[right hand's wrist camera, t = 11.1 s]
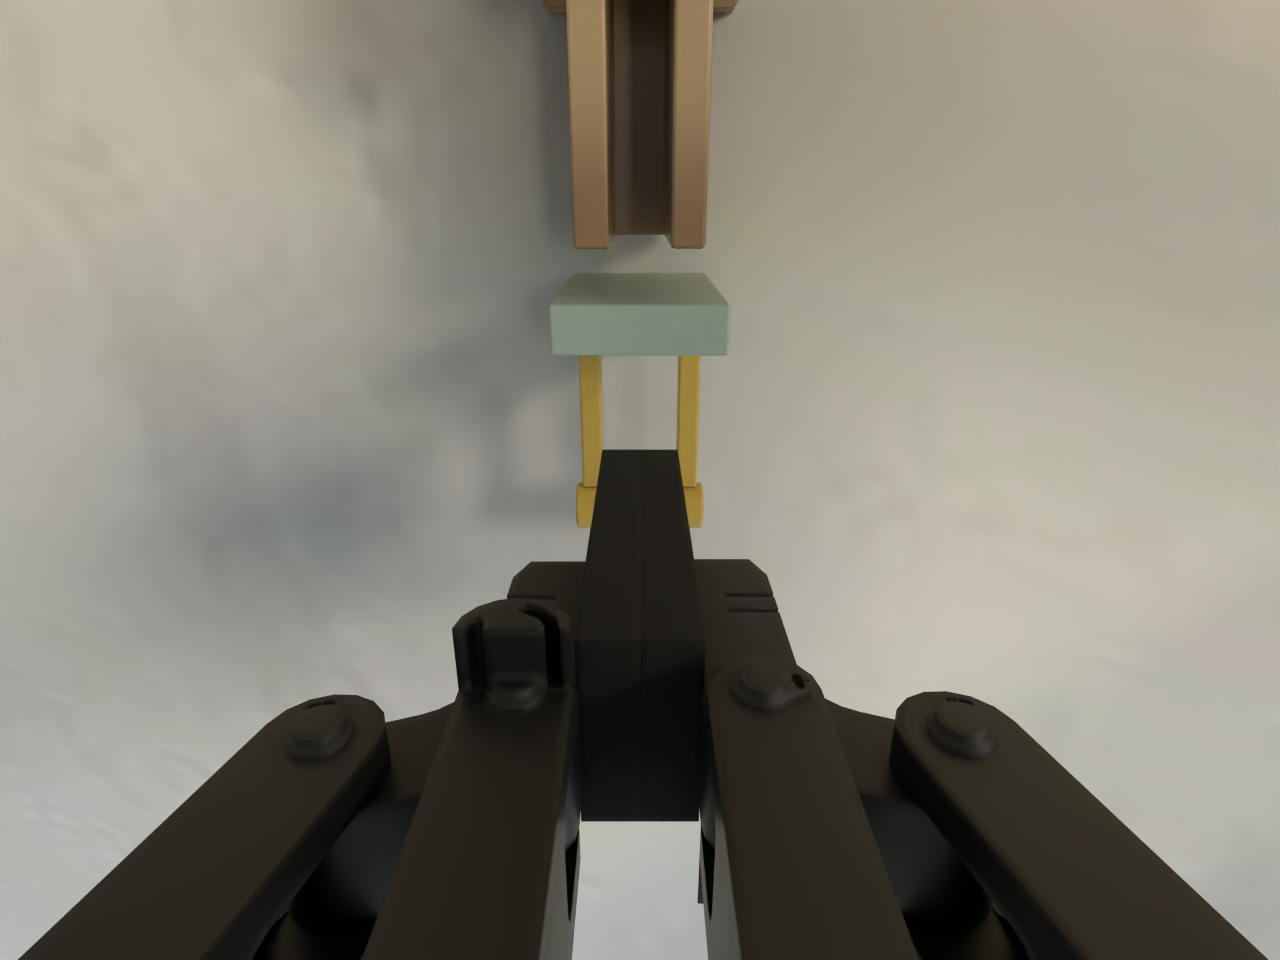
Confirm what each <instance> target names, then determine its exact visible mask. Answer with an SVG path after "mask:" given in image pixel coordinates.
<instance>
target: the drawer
mask: <svg viewBox="0 0 1280 960" xmlns="http://www.w3.org/2000/svg"><path fill="white" fill-rule="evenodd" d="M566 16H567V48H568V79H569V111H570V142H571V173H572V205H573V236H574V247H575V248H577V249H606V248H608V247H609V245H610V244H611V242H612V240H613V238H614V236H615V235H665V236H666V238H667V240H668V242H669V243H670V245H671V247H672V248H675V249H701V248H704V247H705V244H706V215H707V184H708V154H709V123H710V92H711V61H712V30H713V0H566ZM730 315H731V307H730V305H729V303H728V302H727V301H726V300H725V298H724V297H723V296H722V294H721V293H720V292H719V291H718V289H717V288H716V287H715V286H714V284H713V283H712V282H711V281H710V279H709V278H708V277H707V275H706V274H704V273H576V274H574V275H573V276H572V277H571V279H570V280H569V281H568V282H567V284H566V285H565V286H564V287H563V289H562V290H561V291H560V292H559V294H558V295H557V296H556V297H555V299H554V300H553V301H552V302H551V304H550V305H549V328H550V350H551V354H552V355H579V372H580V404H581V437H582V469H583V482H580V483H578V485H577V491H576V520H577V525H578V527H591V523H592V516H593V509H594V502H595V495H596V489H597V482H598V475H599V468H600V461H601V455H602V450H603V418H602V366H601V355H678V389H677V439H676V450H678V455H679V461H680V468H681V475H682V482H683V489H684V495H685V502H686V509H687V516H688V523H689V528H699V527H701V526H702V523H703V488H702V484H701V483H699V482H696V481H697V449H698V418H699V386H700V355H728V353H729V337H730Z"/></svg>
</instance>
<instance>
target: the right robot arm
mask: <svg viewBox="0 0 1280 960" xmlns="http://www.w3.org/2000/svg"><path fill="white" fill-rule="evenodd" d="M452 633H453V642H454V651H455V660H456V669H457V678H458V687H459V691H458V694H457V697H456V699H455V702H453V703H451V704H449V705H447V706H445V707H443V708H441V709H438V710H435V711H432V712H429V713H425V714H422V715H418V716H413V717H409V718H404V719H400V720H395V721H391V722H386V723H385V717H384V712H383V711H382V710H381V709H380V708H379V707H378V705H377V704H376V703H375V702H374V701H371V700H369V699H366V698H363V697H360V696H358V695H330V696H325V697H320V698H316V699H311V700H308V701H306V702H304V703H301V704H299V705H297V706H294V707H292V708H290V709H287V710H286V711H284V712H283V713H281V714H280V715H279V716H277V717H276V718H275V719H273V720H272V721H270V722H269V723H268V724H266V725H265V726H264V727H263V728H262V729H261V730H260V731H259V732H258V733H257V734H256V735H255V736H254V737H253V738H252V739H251V740H249V741H248V742H247V743H246V744H245V745H244V746H243V747H242V748H241V749H240V750H239V751H238V752H237V753H236V754H235V755H234V756H233V757H232V758H230V759H229V760H228V761H227V762H226V763H225V764H224V765H223V766H222V767H221V768H220V769H219V770H218V771H217V772H216V773H215V774H214V775H212V776H211V777H210V778H209V779H208V780H207V781H206V782H205V783H204V784H203V785H202V786H201V787H200V788H199V789H198V790H197V791H196V792H195V793H193V794H192V795H191V796H190V797H189V798H188V799H187V800H186V801H185V802H184V803H183V804H182V805H181V806H180V807H179V808H178V809H177V810H176V811H174V812H173V813H172V814H171V815H170V816H169V817H168V818H167V819H166V820H165V821H164V822H163V823H162V824H161V825H160V826H159V827H158V828H157V829H155V830H154V831H153V832H152V833H151V834H150V835H149V836H148V837H147V838H146V839H145V840H144V841H143V842H142V843H141V844H140V845H139V846H138V847H136V848H135V849H134V850H133V851H132V852H131V853H130V854H129V855H128V856H127V857H126V858H125V859H124V860H123V861H122V862H121V863H120V864H118V865H117V866H116V867H115V868H114V869H113V870H112V871H111V872H110V873H109V874H108V875H107V876H106V877H105V878H104V879H103V880H102V881H101V882H99V883H98V884H97V885H96V886H95V887H94V888H93V889H92V890H91V891H90V892H89V893H88V894H87V895H86V896H85V897H84V898H83V899H82V900H80V901H79V902H78V903H77V904H76V905H75V906H74V907H73V908H72V909H71V910H70V911H69V912H68V913H67V914H66V915H65V916H64V917H63V918H61V919H60V920H59V921H58V922H57V923H56V924H55V925H54V926H53V927H52V928H51V929H50V930H49V931H48V932H47V933H46V934H45V935H44V936H42V937H41V938H40V939H39V940H38V941H37V942H36V943H35V944H34V945H33V946H32V947H31V948H30V949H29V950H28V951H27V952H26V953H24V954H23V955H22V956H21V957H20V958H19V959H18V960H572V950H573V938H574V926H575V915H576V903H577V892H578V880H579V868H580V837H579V823H580V812H581V821H699V809H700V819H701V837H700V861H699V886H698V903H704V914H705V925H706V937H707V948H708V960H1268V959H1267V958H1266V957H1265V956H1264V955H1263V954H1262V953H1261V952H1259V951H1258V950H1257V949H1256V948H1255V947H1254V946H1253V945H1252V944H1251V943H1250V942H1249V941H1248V940H1247V939H1246V938H1245V937H1244V936H1242V935H1241V934H1240V933H1239V932H1238V931H1237V930H1236V929H1235V928H1234V927H1233V926H1232V925H1231V924H1230V923H1229V922H1228V921H1226V920H1225V919H1224V918H1223V917H1222V916H1221V915H1220V914H1219V913H1218V912H1217V911H1216V910H1215V909H1214V908H1213V907H1212V906H1211V905H1209V904H1208V903H1207V902H1206V901H1205V900H1204V899H1203V898H1202V897H1201V896H1200V895H1199V894H1198V893H1197V892H1196V891H1195V890H1194V889H1192V888H1191V887H1190V886H1189V885H1188V884H1187V883H1186V882H1185V881H1184V880H1183V879H1182V878H1181V877H1180V876H1179V875H1178V874H1176V873H1175V872H1174V871H1173V870H1172V869H1171V868H1170V867H1169V866H1168V865H1167V864H1166V863H1165V862H1164V861H1163V860H1162V859H1161V858H1159V857H1158V856H1157V855H1156V854H1155V853H1154V852H1153V851H1152V850H1151V849H1150V848H1149V847H1148V846H1147V845H1146V844H1145V843H1143V842H1142V841H1141V840H1140V839H1139V838H1138V837H1137V836H1136V835H1135V834H1134V833H1133V832H1132V831H1131V830H1130V829H1129V828H1128V827H1126V826H1125V825H1124V824H1123V823H1122V822H1121V821H1120V820H1119V819H1118V818H1117V817H1116V816H1115V815H1114V814H1113V813H1112V812H1110V811H1109V810H1108V809H1107V808H1106V807H1105V806H1104V805H1103V804H1102V803H1101V802H1100V801H1099V800H1098V799H1097V798H1096V797H1095V796H1093V795H1092V794H1091V793H1090V792H1089V791H1088V790H1087V789H1086V788H1085V787H1084V786H1083V785H1082V784H1081V783H1080V782H1079V781H1078V780H1076V779H1075V778H1074V777H1073V776H1072V775H1071V774H1070V773H1069V772H1068V771H1067V770H1066V769H1065V768H1064V767H1063V766H1062V765H1060V764H1059V763H1058V762H1057V761H1056V760H1055V759H1054V758H1053V757H1052V756H1051V755H1050V754H1049V753H1048V752H1047V751H1046V750H1045V749H1043V748H1042V747H1041V746H1040V745H1039V744H1038V743H1037V742H1036V741H1035V740H1034V739H1033V738H1032V737H1031V736H1030V735H1029V734H1027V733H1026V732H1025V731H1024V730H1023V729H1022V728H1021V727H1020V726H1019V725H1018V724H1017V723H1016V722H1015V721H1014V720H1012V719H1011V718H1009V717H1008V716H1007V715H1005V714H1004V713H1002V712H1001V711H1000V710H998V709H997V708H995V707H994V706H992V705H989V704H987V703H985V702H982V701H980V700H978V699H975V698H973V697H971V696H966V695H961V694H956V693H951V692H946V691H944V692H923V693H920V694H917V695H914V696H911V697H909V698H906V699H905V701H904V702H903V703H902V704H901V705H900V706H899V707H898V708H897V711H896V717H895V720H894V719H890V718H885V717H880V716H876V715H871V714H867V713H862V712H858V711H855V710H852V709H848V708H845V707H842V706H840V705H837V704H835V703H833V702H831V701H829V700H827V699H825V698H824V695H823V693H822V690H821V688H820V687H819V685H818V684H817V682H816V681H815V679H814V678H813V676H812V675H811V674H809V673H808V672H806V671H805V670H803V669H802V668H801V667H799V666H798V665H797V664H796V661H795V658H794V655H793V652H792V649H791V646H790V643H789V640H788V637H787V634H786V631H785V628H784V625H783V622H782V619H781V616H780V613H778V607H777V604H776V601H775V598H774V597H773V592H772V589H771V586H770V583H769V580H768V577H767V575H766V574H765V573H764V572H763V571H762V570H760V569H759V568H758V567H757V566H756V565H755V564H754V563H752V562H751V561H750V560H749V559H694V557H693V550H692V543H691V536H690V529H689V523H688V516H687V509H686V502H685V495H684V489H683V482H682V475H681V468H680V461H679V455H678V450H602V455H601V461H600V468H599V475H598V482H597V489H596V495H595V502H594V509H593V516H592V523H591V529H590V536H589V543H588V550H587V557H586V562H530V563H529V564H528V565H527V566H526V567H525V568H523V569H522V570H521V571H520V572H519V573H518V574H517V575H516V576H514V577H513V580H512V583H511V586H510V589H509V592H508V595H507V599H504V600H497V601H494V602H491V603H488V604H484V605H481V606H478V607H476V608H475V609H473V610H471V611H470V612H468V613H467V614H465V615H463V616H462V617H461V618H460V619H459V621H458V622H457V623H456V624H455V626H454V627H453V628H452Z"/></svg>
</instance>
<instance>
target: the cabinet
mask: <svg viewBox="0 0 1280 960" xmlns="http://www.w3.org/2000/svg"><path fill="white" fill-rule="evenodd" d="M542 2H543V4H544V6H545V8H546V10H547V12H548V13H566V0H542ZM737 2H738V0H713V13H732V12H733V10H734V8H735V6H736V4H737Z"/></svg>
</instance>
